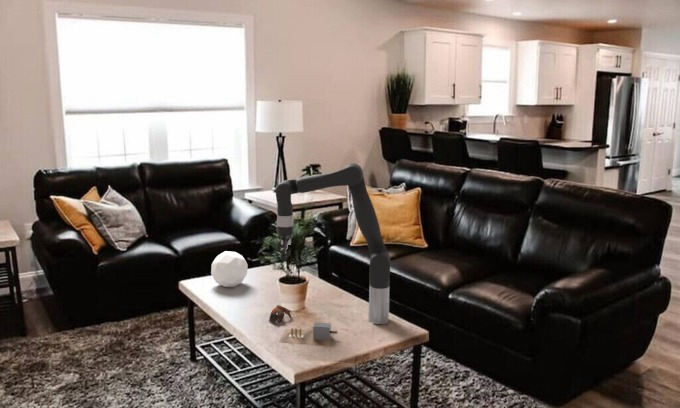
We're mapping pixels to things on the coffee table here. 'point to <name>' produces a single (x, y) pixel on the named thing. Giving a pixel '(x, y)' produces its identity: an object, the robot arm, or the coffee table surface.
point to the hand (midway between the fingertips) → (285, 258)
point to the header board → (302, 337)
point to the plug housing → (322, 331)
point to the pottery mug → (280, 315)
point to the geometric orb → (229, 269)
